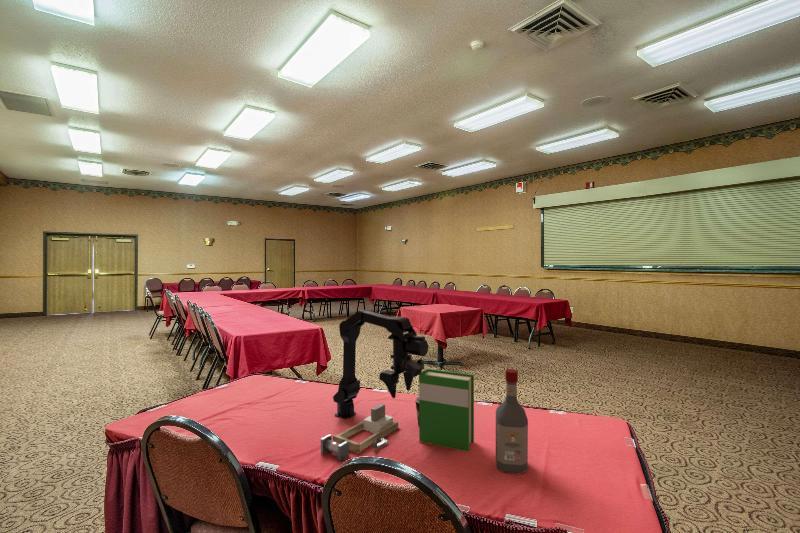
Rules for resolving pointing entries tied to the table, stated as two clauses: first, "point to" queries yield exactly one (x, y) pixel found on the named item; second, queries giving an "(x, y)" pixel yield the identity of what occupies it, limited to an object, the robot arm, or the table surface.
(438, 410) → the hardback book
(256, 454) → the table surface
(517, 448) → the liquor
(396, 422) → the bay
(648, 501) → the table surface
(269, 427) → the table surface
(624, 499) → the table surface
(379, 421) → the two-tone stepped block
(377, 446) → the crank handle
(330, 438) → the winch
